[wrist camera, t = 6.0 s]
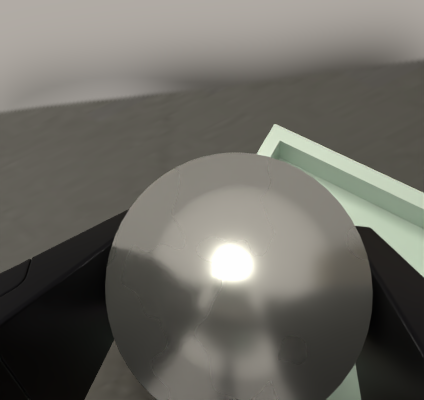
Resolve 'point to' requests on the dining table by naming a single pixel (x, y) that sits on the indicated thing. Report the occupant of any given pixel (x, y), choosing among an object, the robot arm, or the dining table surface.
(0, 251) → the dining table surface
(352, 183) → the tray
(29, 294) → the robot arm
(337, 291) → the can
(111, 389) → the dining table surface
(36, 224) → the dining table surface
